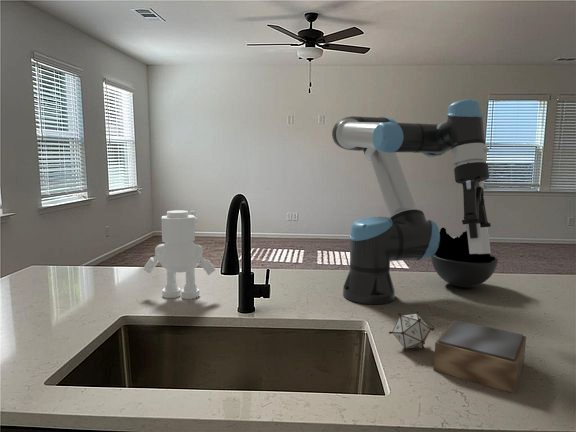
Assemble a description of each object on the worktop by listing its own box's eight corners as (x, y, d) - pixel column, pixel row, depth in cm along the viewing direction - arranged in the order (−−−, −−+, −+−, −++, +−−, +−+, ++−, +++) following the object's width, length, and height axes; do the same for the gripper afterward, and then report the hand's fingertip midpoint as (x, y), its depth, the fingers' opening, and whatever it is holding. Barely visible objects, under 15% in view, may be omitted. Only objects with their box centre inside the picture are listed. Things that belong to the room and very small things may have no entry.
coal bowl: (505, 286, 138) (509, 229, 136) (480, 300, 124) (485, 237, 122) (446, 274, 152) (449, 222, 150) (417, 285, 138) (420, 228, 136)
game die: (417, 367, 91) (437, 344, 85) (380, 350, 93) (397, 326, 86) (422, 334, 98) (442, 310, 91) (388, 319, 99) (404, 294, 92)
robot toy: (221, 291, 130) (220, 210, 127) (210, 303, 119) (209, 215, 115) (152, 288, 132) (150, 208, 129) (135, 300, 121) (132, 213, 118)
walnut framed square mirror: (433, 370, 83) (435, 340, 82) (452, 344, 94) (453, 318, 93) (514, 393, 75) (517, 361, 74) (523, 362, 86) (526, 334, 85)
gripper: (480, 150, 89) (492, 252, 86) (493, 170, 110) (503, 252, 108) (442, 157, 93) (453, 254, 90) (462, 175, 114) (471, 254, 111)
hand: (480, 253), depth 99 cm, fingers open, 13 cm apart
